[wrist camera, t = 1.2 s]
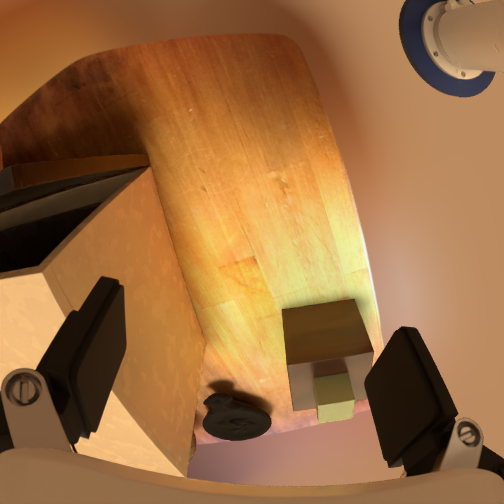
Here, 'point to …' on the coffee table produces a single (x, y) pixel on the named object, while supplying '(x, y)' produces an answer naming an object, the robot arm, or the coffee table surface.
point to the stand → (325, 348)
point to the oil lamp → (234, 418)
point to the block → (334, 397)
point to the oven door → (59, 175)
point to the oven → (136, 310)
